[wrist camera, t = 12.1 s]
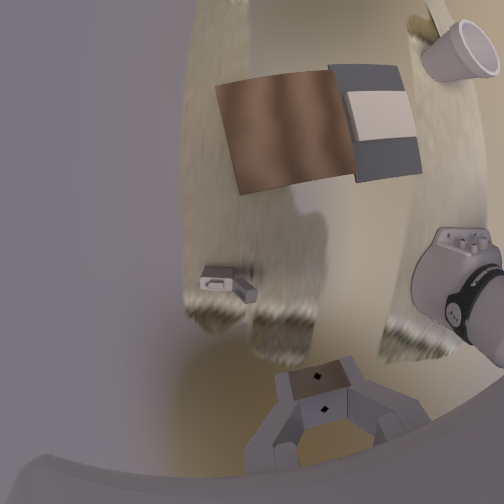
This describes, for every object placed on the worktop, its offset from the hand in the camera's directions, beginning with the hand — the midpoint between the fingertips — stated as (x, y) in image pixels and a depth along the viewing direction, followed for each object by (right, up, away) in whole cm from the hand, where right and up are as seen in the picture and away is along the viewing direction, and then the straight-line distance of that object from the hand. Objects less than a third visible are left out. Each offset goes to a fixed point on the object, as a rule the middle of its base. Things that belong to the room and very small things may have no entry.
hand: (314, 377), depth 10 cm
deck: (+2, +21, +24) cm, 32 cm away
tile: (+16, +24, +24) cm, 37 cm away
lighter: (-6, +2, +30) cm, 30 cm away
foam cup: (+29, +37, +21) cm, 52 cm away
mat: (+16, +24, +24) cm, 38 cm away
